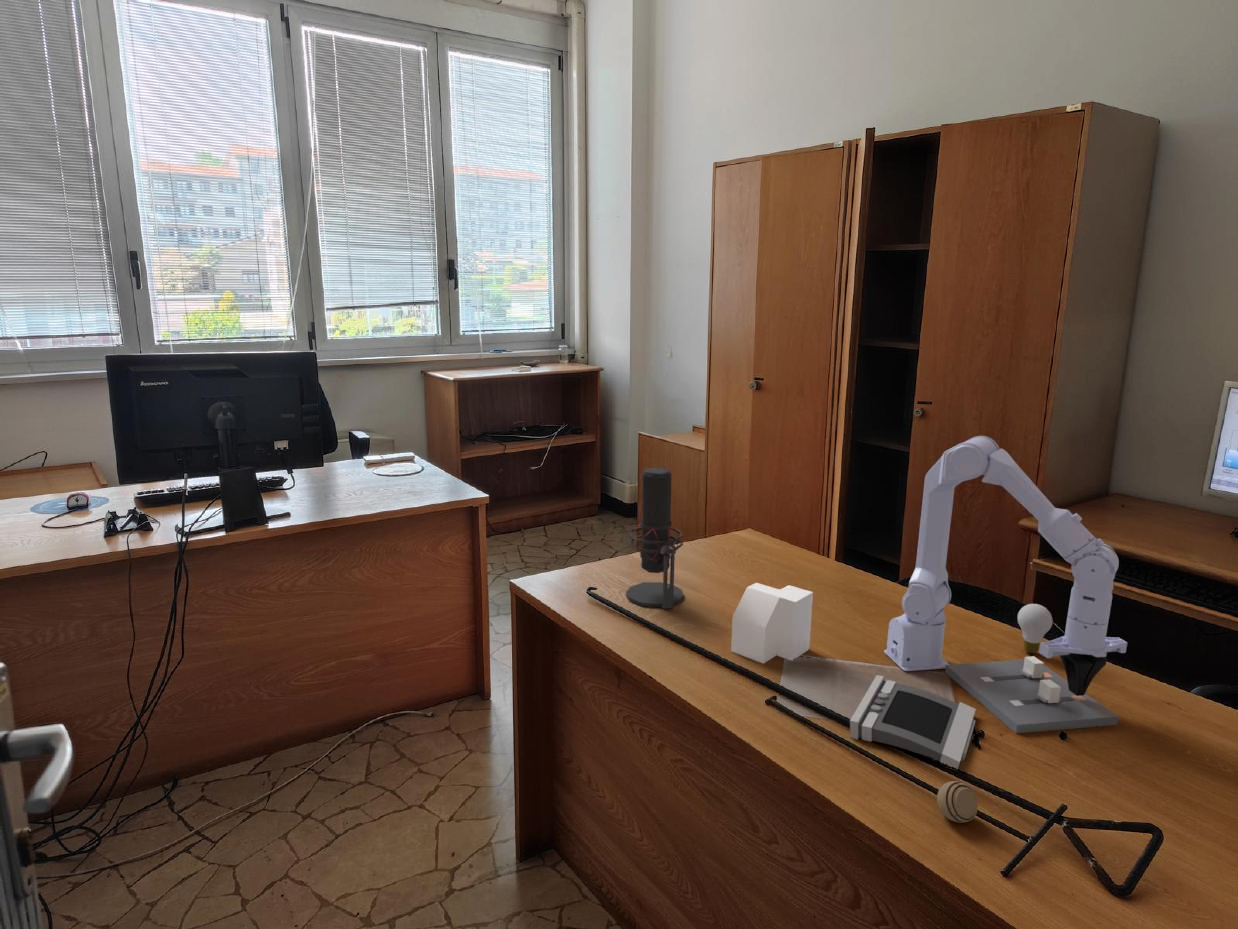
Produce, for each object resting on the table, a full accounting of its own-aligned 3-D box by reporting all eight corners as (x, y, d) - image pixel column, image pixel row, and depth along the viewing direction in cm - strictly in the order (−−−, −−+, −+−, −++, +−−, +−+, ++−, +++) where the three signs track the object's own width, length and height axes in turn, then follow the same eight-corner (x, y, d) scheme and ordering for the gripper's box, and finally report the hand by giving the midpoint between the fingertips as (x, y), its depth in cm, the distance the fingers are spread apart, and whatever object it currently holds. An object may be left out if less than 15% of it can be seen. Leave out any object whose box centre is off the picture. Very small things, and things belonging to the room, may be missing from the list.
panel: (1016, 733, 119) (1017, 724, 119) (945, 672, 138) (945, 664, 138) (1117, 724, 122) (1118, 716, 121) (1033, 666, 141) (1034, 658, 140)
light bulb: (1052, 661, 143) (1059, 612, 141) (1018, 658, 144) (1025, 609, 142) (1041, 647, 148) (1048, 600, 146) (1009, 644, 149) (1015, 597, 147)
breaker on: (1029, 678, 132) (1031, 664, 132) (1019, 671, 135) (1021, 657, 134) (1044, 677, 133) (1047, 663, 132) (1035, 670, 135) (1036, 656, 135)
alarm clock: (876, 675, 131) (978, 694, 123) (876, 699, 132) (978, 720, 124) (849, 720, 117) (963, 745, 109) (850, 747, 118) (962, 774, 109)
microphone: (697, 594, 174) (701, 469, 168) (670, 614, 163) (673, 481, 156) (644, 581, 182) (646, 461, 175) (614, 600, 171) (615, 472, 164)
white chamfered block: (809, 649, 147) (813, 592, 145) (778, 669, 139) (782, 609, 137) (762, 633, 154) (765, 578, 152) (731, 651, 146) (733, 593, 144)
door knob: (935, 825, 98) (939, 792, 97) (934, 802, 103) (938, 770, 102) (977, 835, 96) (981, 801, 95) (974, 811, 101) (978, 778, 100)
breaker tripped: (1045, 703, 124) (1047, 688, 124) (1034, 695, 127) (1037, 680, 126) (1061, 702, 125) (1064, 687, 124) (1051, 694, 127) (1053, 679, 127)
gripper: (1065, 630, 118) (1054, 708, 121) (1146, 625, 121) (1133, 702, 124) (1035, 612, 125) (1025, 686, 128) (1112, 607, 127) (1100, 680, 130)
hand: (1076, 692), depth 126 cm, fingers closed
